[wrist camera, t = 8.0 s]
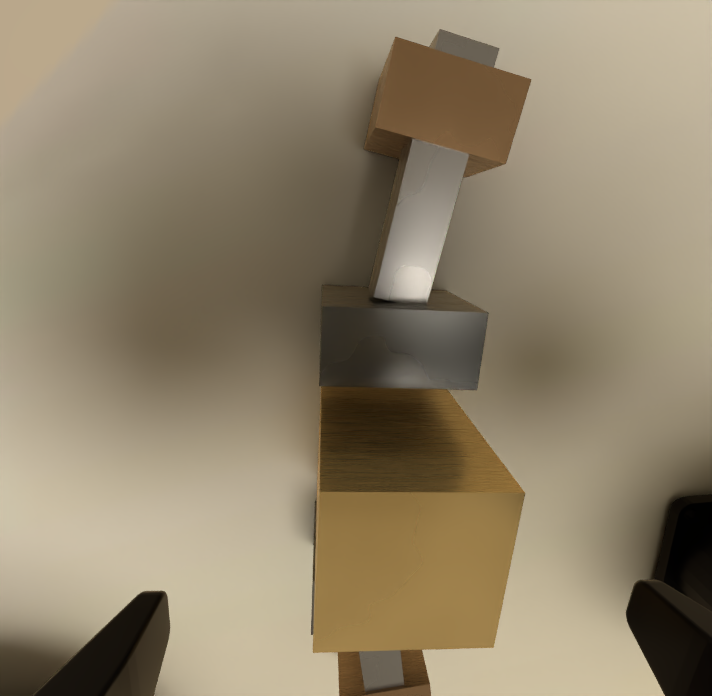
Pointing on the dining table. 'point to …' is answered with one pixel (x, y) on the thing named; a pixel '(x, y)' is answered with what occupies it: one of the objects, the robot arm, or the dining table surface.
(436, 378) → the shaft rig
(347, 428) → the coupler
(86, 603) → the dining table surface
